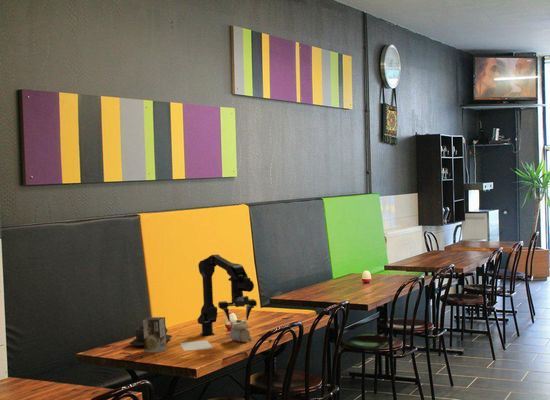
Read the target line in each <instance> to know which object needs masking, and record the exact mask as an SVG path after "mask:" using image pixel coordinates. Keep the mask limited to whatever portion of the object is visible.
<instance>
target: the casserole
mask: <svg viewBox="0 0 550 400" xmlns="http://www.w3.org/2000/svg"><path fill="white" fill-rule="evenodd" d="M165 327H166V342H168V341H169V340H170V339H171V338H173V336H172V334H167V333H168V331H169V330H168V328H167V326H166V325H165ZM133 334H135V338H134V339H133V340H132V341H130V342H129V344H130V346H131V345H132V346H138V347H139V346H141V347H142V346H144V328H143V325H140V326H138V327H137V326H136V328H135V330H134V332H133Z"/></svg>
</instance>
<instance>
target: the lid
mask: <svg viewBox="0 0 550 400" xmlns="http://www.w3.org/2000/svg"><path fill="white" fill-rule="evenodd" d="M229 325H230V327H231V328H232V327H233V329H244V328H246V329H248V328H249V323H248V322H247V320H245V319H230V322H229Z"/></svg>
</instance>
